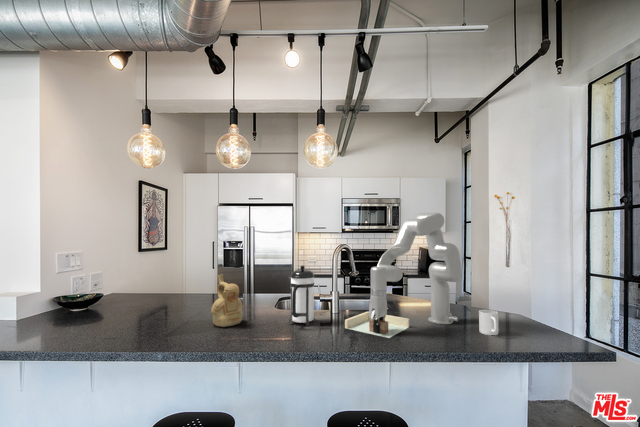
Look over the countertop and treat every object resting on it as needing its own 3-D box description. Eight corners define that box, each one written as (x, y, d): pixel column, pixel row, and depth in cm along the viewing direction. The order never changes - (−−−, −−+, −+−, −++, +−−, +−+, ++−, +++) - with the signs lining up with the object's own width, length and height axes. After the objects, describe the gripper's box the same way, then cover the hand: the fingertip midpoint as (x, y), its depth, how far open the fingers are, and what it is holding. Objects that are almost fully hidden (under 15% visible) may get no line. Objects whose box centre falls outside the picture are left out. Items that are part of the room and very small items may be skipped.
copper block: (388, 332, 161) (388, 321, 161) (384, 334, 158) (384, 323, 158) (373, 329, 166) (373, 318, 166) (369, 331, 163) (369, 320, 163)
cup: (493, 330, 166) (493, 309, 167) (505, 338, 154) (505, 316, 155) (476, 330, 167) (476, 309, 167) (487, 338, 155) (486, 315, 155)
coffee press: (282, 320, 182) (282, 264, 183) (310, 317, 188) (310, 263, 190) (292, 329, 166) (293, 268, 167) (322, 326, 172) (322, 266, 174)
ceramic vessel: (219, 331, 163) (220, 278, 164) (203, 322, 178) (204, 274, 179) (250, 324, 175) (251, 275, 176) (233, 317, 189) (233, 272, 190)
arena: (409, 328, 170) (409, 318, 170) (389, 339, 153) (389, 328, 153) (367, 319, 185) (367, 311, 185) (344, 329, 168) (344, 319, 168)
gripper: (380, 289, 171) (380, 326, 171) (362, 294, 158) (362, 334, 157) (393, 291, 167) (394, 328, 166) (377, 296, 154) (377, 337, 153)
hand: (378, 331), depth 162 cm, fingers closed on copper block, 4 cm apart
